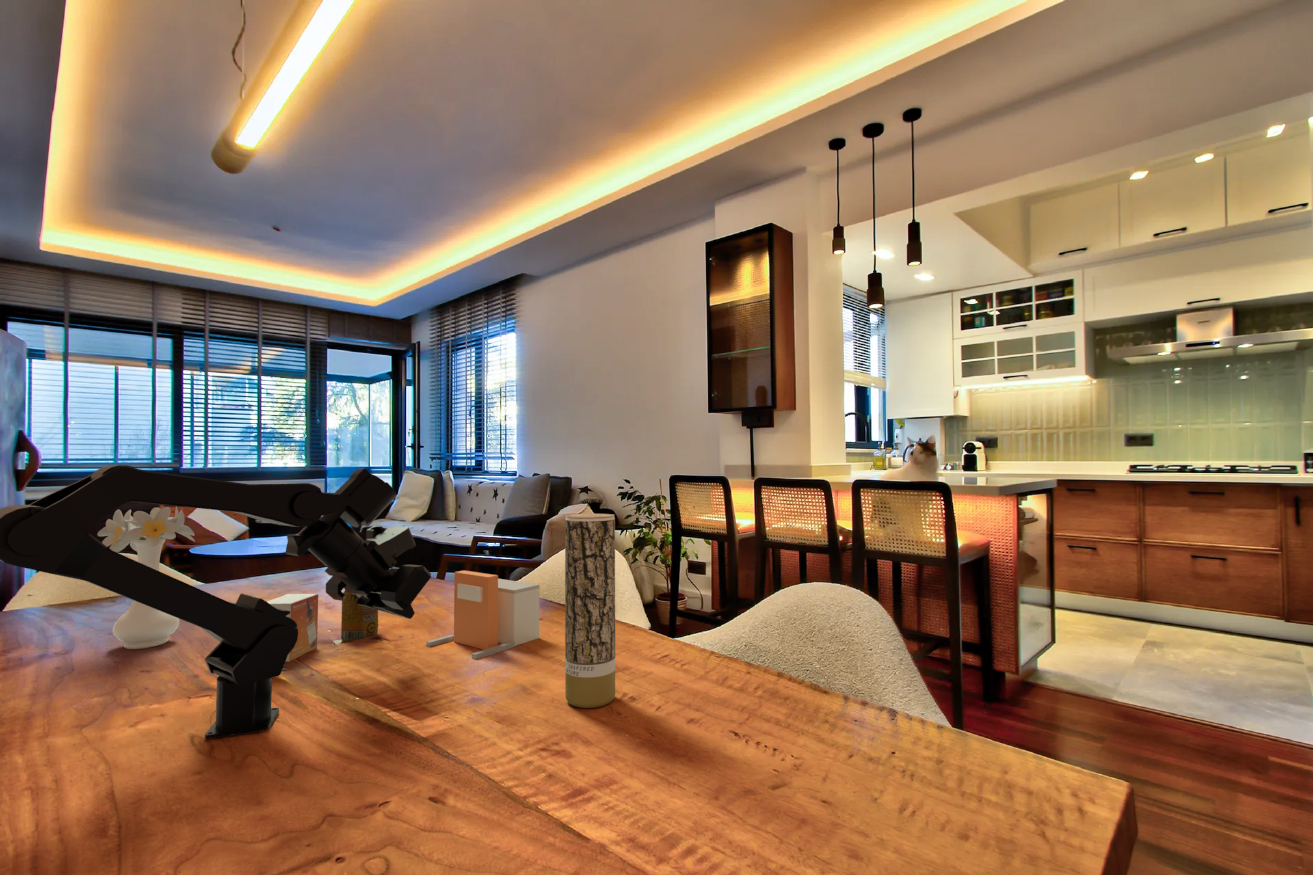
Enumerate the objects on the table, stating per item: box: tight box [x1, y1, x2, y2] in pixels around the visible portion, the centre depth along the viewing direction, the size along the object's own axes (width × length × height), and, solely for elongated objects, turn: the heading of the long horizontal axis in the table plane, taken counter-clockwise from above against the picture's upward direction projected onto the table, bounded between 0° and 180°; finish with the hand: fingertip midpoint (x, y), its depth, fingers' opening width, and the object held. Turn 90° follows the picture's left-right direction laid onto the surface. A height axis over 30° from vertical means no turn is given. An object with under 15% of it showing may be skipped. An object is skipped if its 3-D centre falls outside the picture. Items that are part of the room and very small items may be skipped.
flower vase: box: [97, 506, 196, 650], centre depth 111 cm, size 13×18×25 cm
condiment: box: [332, 589, 379, 646], centre depth 111 cm, size 7×8×12 cm
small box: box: [266, 593, 319, 671], centre depth 100 cm, size 8×6×10 cm
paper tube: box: [564, 513, 616, 709], centre depth 84 cm, size 7×7×25 cm
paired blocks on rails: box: [425, 578, 540, 660], centre depth 104 cm, size 20×14×11 cm
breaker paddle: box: [453, 570, 499, 650], centre depth 104 cm, size 2×9×12 cm, turn 55°
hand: (411, 616), depth 95 cm, fingers closed
